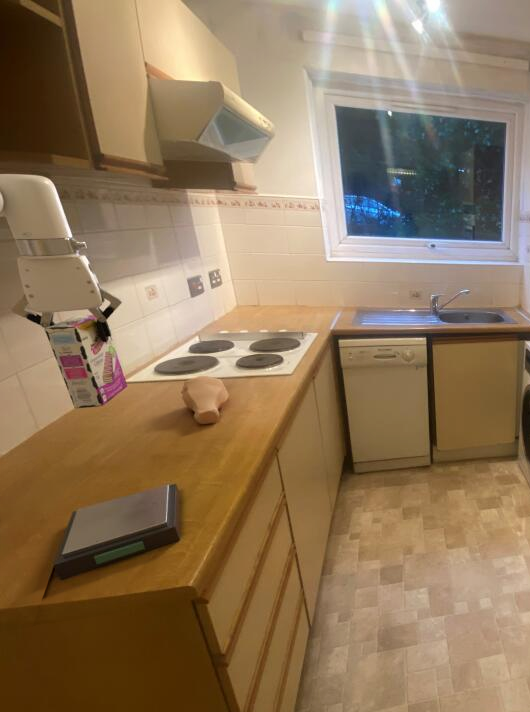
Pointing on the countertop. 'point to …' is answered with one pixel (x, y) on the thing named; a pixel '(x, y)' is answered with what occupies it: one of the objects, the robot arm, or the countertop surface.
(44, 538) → the countertop surface
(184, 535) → the countertop surface
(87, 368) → the candy bar box
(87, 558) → the scale
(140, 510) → the scale pan
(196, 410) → the squash
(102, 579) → the countertop surface
